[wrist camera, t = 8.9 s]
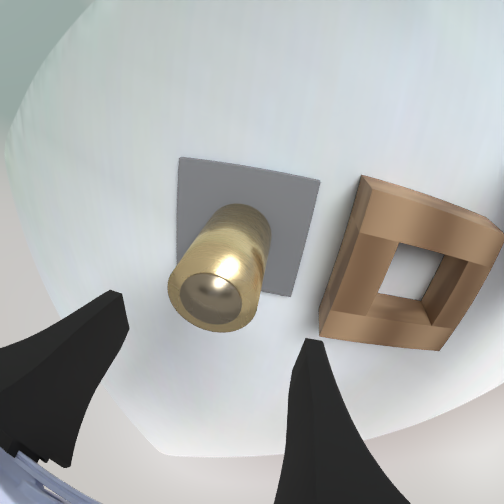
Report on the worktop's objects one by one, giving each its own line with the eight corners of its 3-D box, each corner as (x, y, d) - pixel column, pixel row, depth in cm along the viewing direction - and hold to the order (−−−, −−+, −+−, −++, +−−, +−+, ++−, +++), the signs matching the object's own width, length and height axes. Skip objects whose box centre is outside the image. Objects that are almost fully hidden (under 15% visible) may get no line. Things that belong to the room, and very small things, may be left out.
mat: (319, 180, 17) (320, 182, 16) (290, 293, 21) (290, 297, 21) (181, 156, 17) (179, 158, 17) (178, 269, 22) (176, 272, 22)
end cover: (283, 222, 18) (273, 288, 12) (254, 271, 20) (235, 345, 14) (221, 192, 18) (180, 243, 12) (199, 245, 20) (158, 310, 14)
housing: (486, 217, 15) (506, 235, 13) (430, 326, 21) (439, 351, 18) (361, 174, 16) (372, 189, 14) (318, 309, 22) (319, 336, 19)
